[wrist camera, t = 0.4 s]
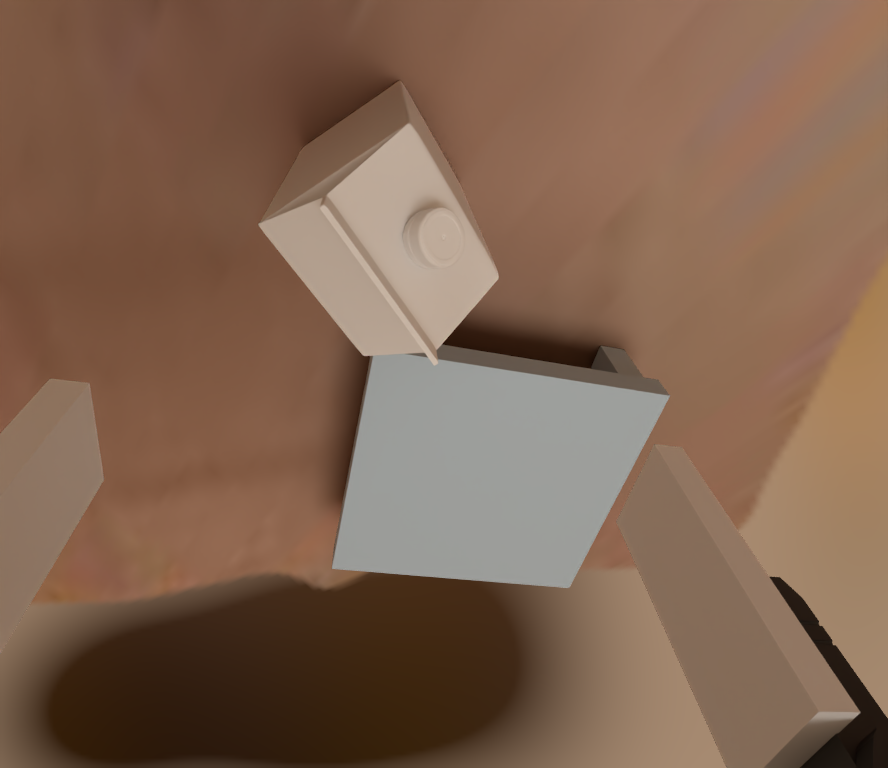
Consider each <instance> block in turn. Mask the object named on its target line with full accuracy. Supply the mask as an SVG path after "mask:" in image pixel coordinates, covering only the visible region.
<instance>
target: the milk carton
mask: <svg viewBox="0 0 888 768" xmlns="http://www.w3.org/2000/svg"><path fill="white" fill-rule="evenodd" d="M258 225H259V227H260V228H261V229H262V231H263V232H264V233H265V235H266V236H267V237H268V239H269V240H270V241H271V242H272V244H273V245H274V246H275V247H276V249H277V250H278V251H279V252H280V253H281V255H282V256H283V257H284V258H285V260H286V261H287V262H288V263H289V265H290V266H291V267H292V268H293V270H294V271H295V272H296V273H297V275H298V276H299V277H300V278H301V280H302V281H303V282H304V283H305V285H306V286H307V287H308V288H309V290H310V291H311V292H312V293H313V295H314V296H315V297H316V298H317V300H318V301H319V302H320V303H321V305H322V306H323V307H324V308H325V309H326V311H327V312H328V313H329V314H330V316H331V317H332V318H333V319H334V321H335V322H336V323H337V324H338V326H339V327H340V328H341V329H342V331H343V332H344V333H345V334H346V336H347V337H348V338H349V339H350V341H351V342H352V343H353V344H354V346H355V347H356V348H357V349H358V350H359V352H360V353H361V354H362V355H363V356H375V355H392V354H409V353H425V354H426V355H427V357H428V358H429V359H430V361H431V362H432V364H433V365H434V366H435V365H437V364H438V357H437V351H436V350H437V349H438V348H439V347H440V346H441V345H442V343H443V342H444V341H445V340H446V339H447V338H448V337H449V335H450V334H451V333H452V332H453V331H454V330H455V329H456V327H457V326H458V325H459V324H460V323H461V322H462V320H463V319H464V318H465V317H466V316H467V315H468V314H469V312H470V311H471V310H472V309H473V308H474V307H475V305H476V304H477V303H478V302H479V301H480V300H481V299H482V297H483V296H484V295H485V294H486V293H487V292H488V290H489V289H490V288H491V287H492V286H493V285H494V283H495V282H496V281H497V280H498V279H499V276H498V271H497V268H496V266H495V263H494V261H493V259H492V256H491V254H490V252H489V250H488V247H487V245H486V243H485V240H484V238H483V236H482V234H481V231H480V229H479V227H478V224H477V222H476V220H475V217H474V215H473V213H472V211H471V208H470V206H469V204H468V201H467V199H466V197H465V195H464V192H463V190H462V188H461V185H460V183H459V181H458V179H457V178H456V176H455V174H454V172H453V170H452V169H451V167H450V165H449V163H448V162H447V160H446V158H445V156H444V155H443V153H442V151H441V149H440V147H439V146H438V144H437V142H436V140H435V139H434V137H433V135H432V133H431V132H430V130H429V128H428V126H427V125H426V123H425V121H424V119H423V118H422V116H421V114H420V112H419V110H418V109H417V107H416V105H415V103H414V102H413V100H412V98H411V96H410V95H409V93H408V91H407V89H406V88H405V86H404V84H403V83H402V82H401V81H398V82H396V83H395V84H394V85H392V86H391V87H389V88H388V89H386V90H385V91H383V92H382V93H381V94H379V95H378V96H376V97H375V98H373V99H372V100H370V101H369V102H368V103H366V104H365V105H363V106H362V107H360V108H359V109H357V110H356V111H355V112H353V113H352V114H350V115H349V116H347V117H346V118H344V119H343V120H342V121H340V122H339V123H337V124H336V125H334V126H333V127H331V128H330V129H329V130H327V131H326V132H324V133H323V134H321V135H320V136H318V137H317V138H316V139H314V140H313V141H311V142H310V143H308V144H307V145H305V146H304V147H303V148H302V149H301V151H300V153H299V155H298V156H297V158H296V160H295V162H294V163H293V165H292V167H291V169H290V170H289V172H288V174H287V176H286V177H285V179H284V181H283V183H282V184H281V186H280V188H279V190H278V191H277V193H276V195H275V196H274V198H273V200H272V202H271V203H270V205H269V207H268V209H267V210H266V212H265V214H264V216H263V217H262V219H261V221H260V223H259V224H258Z"/></svg>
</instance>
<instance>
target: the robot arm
mask: <svg viewBox="0 0 888 768" xmlns="http://www.w3.org/2000/svg"><path fill="white" fill-rule="evenodd" d="M103 481H104V475H103V469H102V462H101V455H100V449H99V442H98V436H97V429H96V422H95V416H94V409H93V402H92V396H91V389H90V383H86V382H77V381H68V380H59V379H49V380H48V381H47V382H46V384H45V385H44V386H43V387H42V388H41V389H40V390H39V391H38V392H37V394H36V395H35V396H34V397H33V398H32V399H31V400H30V401H29V402H28V403H27V405H26V406H25V407H24V408H23V409H22V410H21V411H20V412H19V413H18V415H17V416H16V417H15V418H14V419H13V420H12V421H11V422H10V423H9V424H8V426H7V427H6V428H5V429H4V430H3V431H2V432H1V433H0V653H1V652H2V650H3V649H4V647H5V645H6V643H7V642H8V640H9V638H10V637H11V635H12V633H13V632H14V630H15V628H16V626H17V625H18V623H19V622H20V620H21V618H22V617H23V615H24V613H25V611H26V610H27V608H28V607H29V605H30V603H31V602H32V600H33V598H34V596H35V595H36V593H37V591H38V590H39V588H40V586H41V585H42V583H43V581H44V580H45V578H46V576H47V575H48V573H49V571H50V570H51V568H52V566H53V565H54V563H55V561H56V560H57V558H58V556H59V555H60V553H61V551H62V550H63V548H64V546H65V544H66V543H67V541H68V539H69V538H70V536H71V534H72V533H73V531H74V529H75V528H76V526H77V524H78V523H79V521H80V519H81V518H82V516H83V514H84V513H85V511H86V509H87V508H88V506H89V504H90V503H91V501H92V499H93V497H94V496H95V494H96V492H97V491H98V489H99V487H100V486H101V484H102V482H103ZM616 522H617V525H618V527H619V529H620V531H621V534H622V536H623V538H624V540H625V542H626V545H627V547H628V549H629V551H630V554H631V556H632V558H633V560H634V562H635V565H636V567H637V569H638V571H639V574H640V576H641V578H642V580H643V582H644V585H645V587H646V589H647V591H648V594H649V596H650V598H651V600H652V603H653V605H654V607H655V609H656V611H657V614H658V616H659V618H660V620H661V623H662V625H663V627H664V629H665V632H666V634H667V636H668V638H669V640H670V643H671V645H672V647H673V649H674V652H675V654H676V656H677V658H678V660H679V663H680V665H681V667H682V669H683V672H684V674H685V676H686V678H687V681H688V683H689V685H690V687H691V689H692V692H693V694H694V696H695V698H696V700H697V703H698V705H699V707H700V709H701V712H702V714H703V716H704V718H705V721H706V723H707V725H708V727H709V730H710V732H711V734H712V736H713V738H714V741H715V743H716V745H717V747H718V750H719V752H720V754H721V756H722V758H723V760H724V763H725V765H726V767H727V768H888V718H887V717H886V716H885V714H884V713H883V711H882V710H881V709H880V707H879V706H878V704H877V703H876V702H875V700H874V699H873V697H872V696H871V695H870V693H869V692H868V690H867V689H866V687H865V686H864V685H863V683H862V682H861V680H860V679H859V678H858V676H857V675H856V673H855V672H854V670H853V669H852V668H851V666H850V665H849V663H848V662H847V661H846V659H845V658H844V656H843V655H842V653H841V652H840V651H839V649H838V648H837V647H836V646H835V645H833V644H832V639H831V638H830V636H829V635H828V634H827V632H826V631H825V629H824V628H823V627H822V626H819V621H818V620H817V618H816V617H815V615H814V614H813V612H812V611H811V610H810V608H809V607H808V605H807V604H806V602H805V601H804V600H803V599H802V597H801V596H799V595H798V594H797V593H796V592H795V591H794V590H793V589H792V588H791V587H790V586H788V584H786V583H785V582H784V581H783V580H782V579H781V578H780V577H769V576H768V574H767V573H766V572H765V570H764V569H763V567H762V566H761V564H760V563H759V561H758V560H757V558H756V557H755V555H754V554H753V552H752V551H751V549H750V548H749V546H748V545H747V543H746V542H745V540H744V539H743V537H742V536H741V534H740V533H739V531H738V530H737V528H736V527H735V525H734V524H733V523H732V521H731V520H730V518H729V517H728V515H727V514H726V512H725V511H724V509H723V508H722V506H721V505H720V503H719V502H718V500H717V499H716V497H715V496H714V494H713V493H712V491H711V490H710V488H709V487H708V485H707V484H706V482H705V481H704V479H703V478H702V477H701V475H700V474H699V472H698V471H697V469H696V468H695V466H694V465H693V463H692V462H691V460H690V459H689V457H688V456H687V454H686V453H685V451H684V450H683V448H682V447H675V446H666V445H657V444H654V446H653V448H652V450H651V452H650V454H649V456H648V458H647V460H646V462H645V464H644V466H643V468H642V470H641V472H640V474H639V476H638V478H637V480H636V482H635V484H634V486H633V488H632V490H631V492H630V494H629V497H628V499H627V501H626V503H625V505H624V507H623V509H622V511H621V513H620V515H619V517H618V519H617V521H616Z"/></svg>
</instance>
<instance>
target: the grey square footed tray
mask: <svg viewBox="0 0 888 768" xmlns="http://www.w3.org/2000/svg"><path fill="white" fill-rule="evenodd" d="M436 351H437V357H438V364H437V365H435V366H434V365H433V364H432V362H431V361H430V359H429V358H428V357H427V355H426V354H425V353H409V354H392V355H375V356H370V361H369V366H368V372H367V377H366V382H365V387H364V393H363V398H362V403H361V408H360V414H359V419H358V424H357V429H356V435H355V440H354V445H353V450H352V455H351V461H350V466H349V471H348V476H347V482H346V487H345V492H344V497H343V503H342V508H341V513H340V518H339V523H338V529H337V534H336V539H335V544H334V551H333V562H332V569H342V570H355V571H367V572H380V573H391V574H404V575H416V576H429V577H441V578H454V579H466V580H478V581H490V582H502V583H514V584H527V585H540V586H552V587H564V588H569V587H570V585H571V583H572V581H573V579H574V578H575V576H576V574H577V572H578V570H579V568H580V566H581V564H582V562H583V560H584V558H585V557H586V555H587V553H588V551H589V549H590V547H591V545H592V543H593V541H594V539H595V538H596V536H597V534H598V532H599V530H600V528H601V526H602V524H603V522H604V520H605V518H606V517H607V515H608V513H609V511H610V509H611V507H612V505H613V503H614V501H615V499H616V498H617V496H618V494H619V492H620V490H621V488H622V486H623V484H624V482H625V480H626V479H627V477H628V475H629V473H630V471H631V469H632V467H633V465H634V463H635V461H636V459H637V458H638V456H639V454H640V452H641V450H642V448H643V446H644V444H645V442H646V440H647V439H648V437H649V435H650V433H651V431H652V429H653V427H654V425H655V423H656V421H657V419H658V418H659V416H660V414H661V412H662V410H663V408H664V406H665V404H666V402H667V400H668V399H669V397H670V395H669V394H668V393H667V391H666V390H665V389H664V387H663V386H662V384H661V383H660V382H659V380H656V379H650V378H644V377H643V376H642V374H641V373H640V372H639V370H638V369H637V367H636V366H635V364H634V363H633V362H632V360H631V359H630V357H629V356H628V355H627V353H626V352H625V350H623V349H618V348H612V347H606V346H600V348H599V350H598V352H597V355H596V357H595V359H594V362H593V364H592V366H591V368H592V369H589V368H582V367H576V366H570V365H564V364H558V363H552V362H546V361H539V360H533V359H527V358H521V357H515V356H509V355H503V354H497V353H490V352H484V351H478V350H472V349H466V348H460V347H454V346H448V345H441V346H440V347H439V348H438V349H437V350H436Z"/></svg>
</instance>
